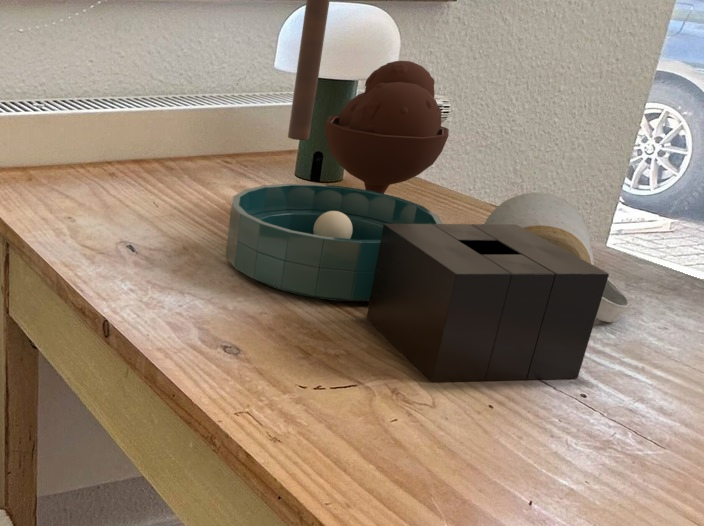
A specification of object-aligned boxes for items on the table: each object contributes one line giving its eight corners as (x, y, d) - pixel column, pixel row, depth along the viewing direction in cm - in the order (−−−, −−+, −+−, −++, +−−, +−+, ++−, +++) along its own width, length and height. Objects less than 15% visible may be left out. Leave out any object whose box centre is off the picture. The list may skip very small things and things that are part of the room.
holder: (493, 316, 64) (516, 224, 61) (578, 378, 55) (610, 273, 52) (365, 318, 62) (383, 223, 59) (431, 382, 53) (456, 274, 51)
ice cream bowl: (301, 206, 88) (323, 51, 82) (412, 213, 88) (443, 58, 82) (320, 239, 79) (348, 66, 73) (445, 246, 79) (483, 73, 72)
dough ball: (340, 242, 76) (346, 206, 75) (355, 254, 73) (361, 217, 72) (305, 242, 76) (310, 206, 75) (318, 254, 73) (324, 217, 72)
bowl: (377, 238, 80) (387, 184, 78) (468, 306, 65) (484, 242, 63) (204, 238, 78) (209, 182, 75) (259, 308, 63) (268, 242, 61)
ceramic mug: (470, 312, 64) (497, 210, 61) (469, 277, 71) (493, 184, 68) (632, 341, 61) (669, 235, 58) (613, 301, 68) (645, 205, 65)
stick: (304, 136, 67) (343, -131, 60) (312, 140, 66) (352, -132, 58) (284, 135, 67) (321, -132, 59) (291, 140, 65) (329, -134, 58)
